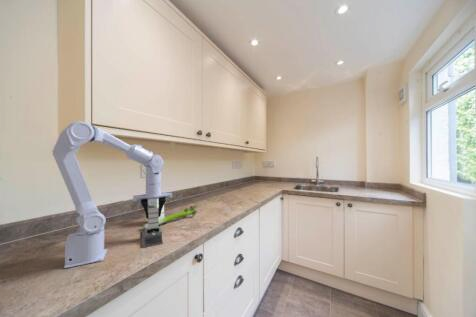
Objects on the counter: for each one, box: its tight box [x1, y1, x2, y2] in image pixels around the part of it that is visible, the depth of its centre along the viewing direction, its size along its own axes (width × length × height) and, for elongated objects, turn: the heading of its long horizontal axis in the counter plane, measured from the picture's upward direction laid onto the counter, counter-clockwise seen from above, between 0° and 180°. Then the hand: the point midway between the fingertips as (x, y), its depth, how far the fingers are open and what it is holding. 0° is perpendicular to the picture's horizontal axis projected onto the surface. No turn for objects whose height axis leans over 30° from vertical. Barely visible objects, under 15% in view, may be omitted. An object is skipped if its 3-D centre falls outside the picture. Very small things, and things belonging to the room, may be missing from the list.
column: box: [147, 207, 160, 230], centre depth 75 cm, size 4×4×8 cm
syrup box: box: [148, 197, 165, 220], centre depth 94 cm, size 6×6×14 cm
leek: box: [141, 205, 197, 230], centre depth 95 cm, size 6×7×30 cm
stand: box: [141, 226, 164, 249], centre depth 76 cm, size 7×17×4 cm, turn 28°
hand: (153, 216), depth 75 cm, fingers open, 4 cm apart
